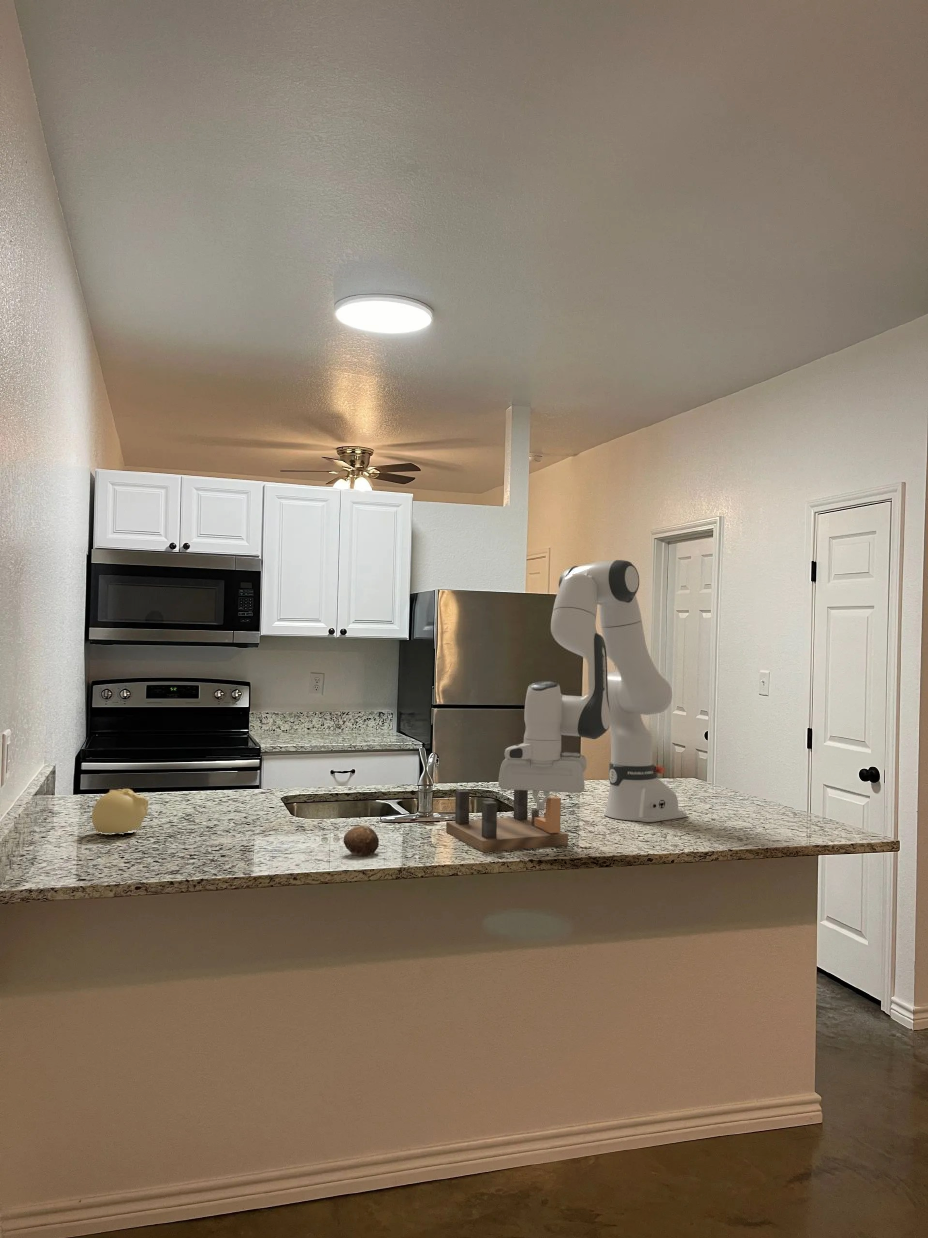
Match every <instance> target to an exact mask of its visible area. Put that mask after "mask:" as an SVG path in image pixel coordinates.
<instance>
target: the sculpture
mask: <svg viewBox="0 0 928 1238" xmlns="http://www.w3.org/2000/svg"><path fill="white" fill-rule="evenodd" d="M148 807H149V800H148V798H147V797H146V796H143V795H140V794H138V793H135V792H134V791H133V789H130V788H122V789H121V788H118V789H109V791H108V792H107V793H106V794H104V795H102V796H101V797H100V798H99V799H97V801H96V802H95V804H94V806H93V809H92V812H91V822H92V826H93V828H94V829H95V831H96V832H97V831H98V832H102V833H122V832H128V831H132V830H135V829H138V828H139V827H142V824H143V822H144V819H145V818H146V817H147V816H148V811H149V809H148ZM139 829H140V828H139ZM139 829H138V830H139ZM98 832H97V833H98Z"/></svg>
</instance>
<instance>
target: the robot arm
mask: <svg viewBox="0 0 928 1238" xmlns="http://www.w3.org/2000/svg"><path fill="white" fill-rule="evenodd" d="M639 586H640V575H639V571H638V569H637V568H636V566H635V565H634V564H633V563H632V562H631V561H629V560H625V559H624V560H622V559H616V560H613V561H612V560H610V561H609V560H604V561H603V560H602V561H594V562H592V563H587V564H583V565H573V566H571V567H568V568H566V569H565V570H564V571H563V572H562V573H561V575H560V577H559V579H558V590H557V594H556V597H555V599H554V604H553V609H552V614H551V621H550V633H551V635H552V637H553V639H554V640H555V642H557V643H558V645H560V646H561V647H563V649H565V650H568V651H569V652H572V653H573V654H576V655H577V656H580V657H582V658H584V659H586V662H587V680H588V681H587V682H588V683H587V684H588V685H587V686H588V688H587V690H588V691H587V694H585V695H584V696H580V695H566V694H562V692H561V687H560V684H558V683H557V682H554V681H549V680H548V681H547V680H545V681H544V680H543V681H536V682H533V683H531V684H529V685H528V687H527V690H526V696H525V701H524V702H525V703H524V723H525V731H524V735H523V743H518V744H514V745H511V746H508V747H507V748H505V750H504V757H505V759H503V760H502V762H501V765H500V768H499V771H498V773H499V774H498V784H497V785H498V786H499V788H500V789H501V790H508V791H509V790H510V791H511V790H512V791H514V790H528V791H530V792H532V797H533V799H534V801H535V803H536V808H537V810H539V811H544V812H545V810H546V801H547V799H548V797H550V792H551V793H554V792H555V793H571V794H581V793H583V792H584V791H585V789H586V788H585V773H584V772H585V771H586V770H587V764H588V763H587V758H586V756H585V755H583V754H581V753H580V752H570V751H569V752H568V751H562V736H573V737H581V738H585V739H589V740H590V739H591V740H597V739H599V738H601V736H603V735H604V734H605V733H607V731H608V730H609V734H610V735H609V736H610V750H611V751H610V762H609V765H608V777H609V778H608V780H609V781H608V782H609V788H608V789H609V791H608V797H607V803H606V806H605V807H606V808H605V810H604V816H606V817H609V818H612V819H616V820H623V821H636V822H643V823H654V822H660V821H667V820H675V819H681V818H687V817H688V813H687V812H686V811H685V810H683V809H680V808H679V802H678V801H679V800H678V796H677V794H676V792H675V791H674V790H673V789H672V788H670V787H669V786H668V785H666V784H665V782H663V781H662V780H661V779H659V778H658V777H659V776H658V774H661V775H663V774H664V773H665V771H666V768H665V767H664V766H661V765H657V766H656V765H654V764H653V736H652V733H651V732H650V731H649V730H648V729H647V728H646V726H645V723H644V721H643V718H642V715H644V716H645V715H647V716H650V715H655V714H661V713H663V712H665V711H666V710H668V708H669V707H670V705H671V703H672V700H673V691H672V687H671V684H670V683H669V681H668V680H666V679H665V678H664V677H663V675H661V674H660V672H659V670H658V669H657V668H656V666H655V664H654V662H653V660H652V657H651V656H650V653H649V650H648V648H647V643H646V637H645V633H644V632H645V631H644V626H643V619H642V614H641V609H640V605H639V602H638V599H637V593H638V592H639V591H638V590H639V588H640V587H639ZM598 606H599V607H598ZM598 609H599V620H600V628H601V634H602V635H601V634H599V633H598V630H597V627H596V623H597V614H598V612H597V611H598ZM608 659H609V660H610V661H611V662H612V663H613V664H614V666H615V668H616V670H617V671H614V672H609V673H608ZM540 792H542V796H543V797H544V798H542V799H543V800H542V801H540V799H539V795H540Z"/></svg>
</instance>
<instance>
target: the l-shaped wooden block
mask: <svg viewBox="0 0 928 1238" xmlns="http://www.w3.org/2000/svg"><path fill="white" fill-rule="evenodd" d="M561 798H562V797H561ZM561 798H560V797H558V796H549V797H548V799H547V801H546V802H545V812H546V814H545V818H544V816H539V817H534V826H536V827H538V828H541V829H543V830H545V831H546V832H549V833H560V831H561V810H562V809H561V807H562V806H561V805H562V804H561V803H562V802H561Z"/></svg>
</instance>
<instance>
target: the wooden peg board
mask: <svg viewBox="0 0 928 1238" xmlns="http://www.w3.org/2000/svg"><path fill="white" fill-rule="evenodd" d="M528 791H529V790H513V816H510V817H509V816H507V817H498V803H497V802H496V801H493V800H488V801H485V800H484V801H481V819H470V792H471V791H470V790H468V789H457V790H456V789H455V801H454V802H455V813H454V815H455V816H454V820H453V821H452V820H451V821H446V822H445V823H446V824H445V832H446V833H448V834H449V835H451V836H453V837H454V838H456V839H458V840H459V841H462V842H464V843H465V844H467V845H469V846H470V847H473V848H474V849H476V850H478V851H479V852H481V853H487V852H498V851H509V850H510V851H511V850H520V849H521V850H522V849H531V848H543V847H544V848H545V847H554V846H555V847H556V846H566V845H567V846H568V844H569V833H568V832H564V831H562V830H560V833H549V832H546V831H545V830H543V829H541V828H538V827H536V826H534V817H540V810H537V807H536V808H531V817H530V816H529V817H528V815H529V813H528V808H529V806H528V805H529V804H528V803H529V799H528V797H529V792H528ZM545 814H546V811H544V812H543V818H545Z"/></svg>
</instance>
